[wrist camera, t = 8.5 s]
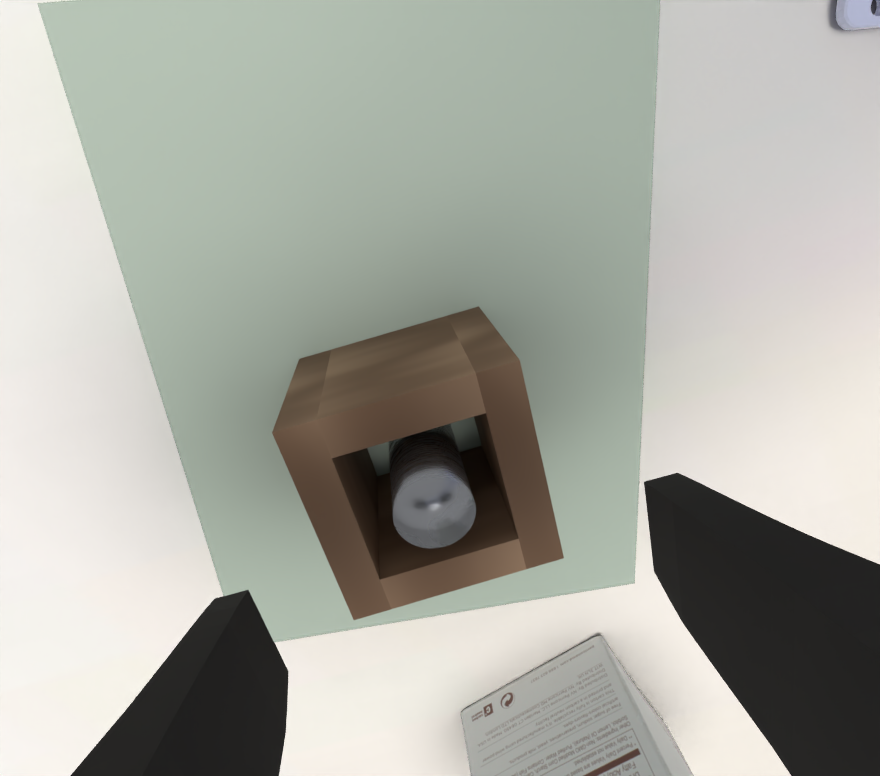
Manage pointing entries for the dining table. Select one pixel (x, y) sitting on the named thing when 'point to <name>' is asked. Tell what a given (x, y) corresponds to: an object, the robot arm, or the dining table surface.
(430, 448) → the grey steel post
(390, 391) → the walnut collar
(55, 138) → the dining table surface
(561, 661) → the supplement box
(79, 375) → the dining table surface
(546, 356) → the sage board
